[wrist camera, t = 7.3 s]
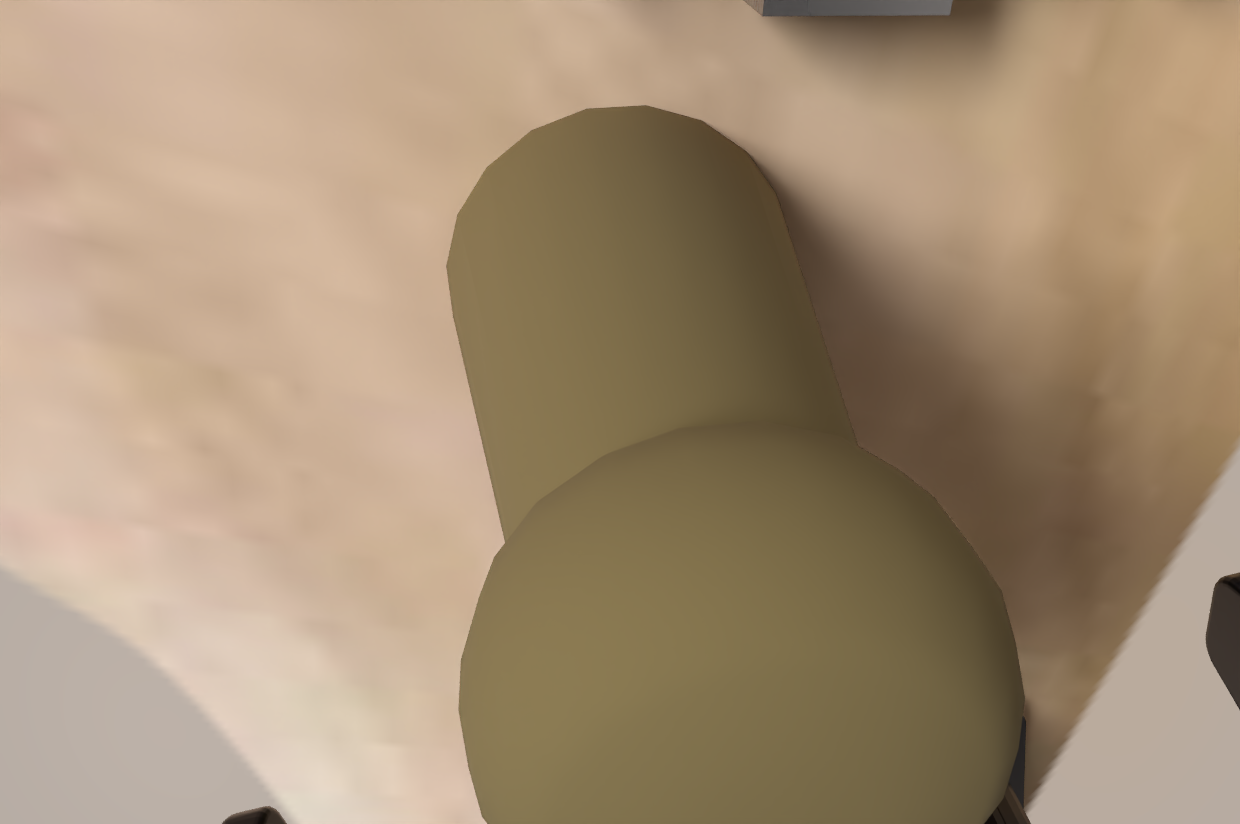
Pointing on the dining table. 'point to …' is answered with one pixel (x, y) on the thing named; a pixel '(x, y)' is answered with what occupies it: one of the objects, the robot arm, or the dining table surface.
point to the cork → (698, 517)
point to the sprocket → (850, 7)
